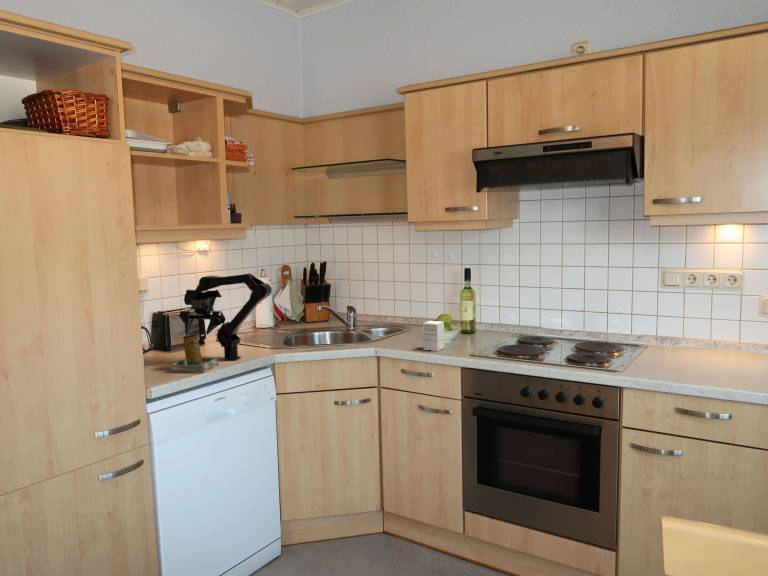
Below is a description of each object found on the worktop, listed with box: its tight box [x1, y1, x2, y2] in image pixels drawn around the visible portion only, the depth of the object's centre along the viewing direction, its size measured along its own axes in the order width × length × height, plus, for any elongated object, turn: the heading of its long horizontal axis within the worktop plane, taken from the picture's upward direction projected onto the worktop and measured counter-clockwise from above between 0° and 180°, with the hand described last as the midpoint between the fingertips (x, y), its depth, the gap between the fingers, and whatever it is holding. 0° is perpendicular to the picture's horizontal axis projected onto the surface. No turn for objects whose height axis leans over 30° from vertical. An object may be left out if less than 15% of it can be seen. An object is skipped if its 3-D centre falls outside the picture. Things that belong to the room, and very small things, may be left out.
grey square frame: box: [169, 357, 219, 374], centre depth 255 cm, size 14×14×3 cm
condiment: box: [182, 334, 207, 365], centre depth 255 cm, size 7×8×12 cm
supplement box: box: [422, 320, 445, 352], centre depth 281 cm, size 7×7×13 cm
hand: (196, 333), depth 259 cm, fingers open, 9 cm apart
